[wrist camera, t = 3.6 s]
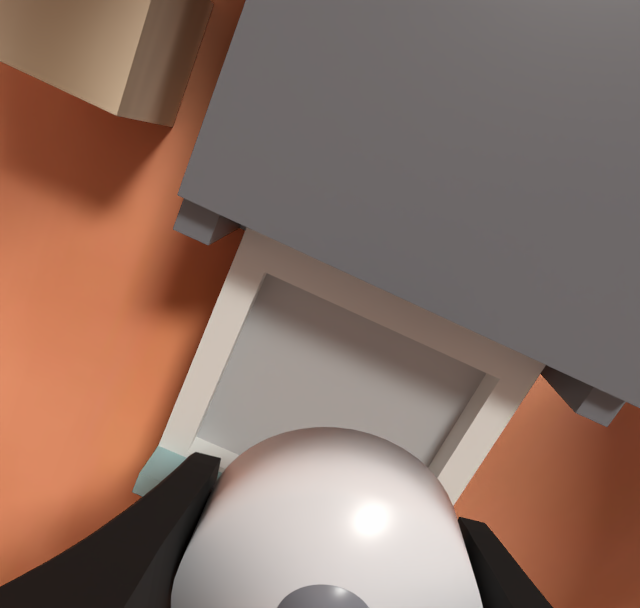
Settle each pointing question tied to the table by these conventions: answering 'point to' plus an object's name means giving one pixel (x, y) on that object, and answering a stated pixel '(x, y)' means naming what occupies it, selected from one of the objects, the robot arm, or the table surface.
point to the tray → (337, 370)
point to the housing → (446, 166)
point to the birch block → (108, 50)
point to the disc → (326, 530)
